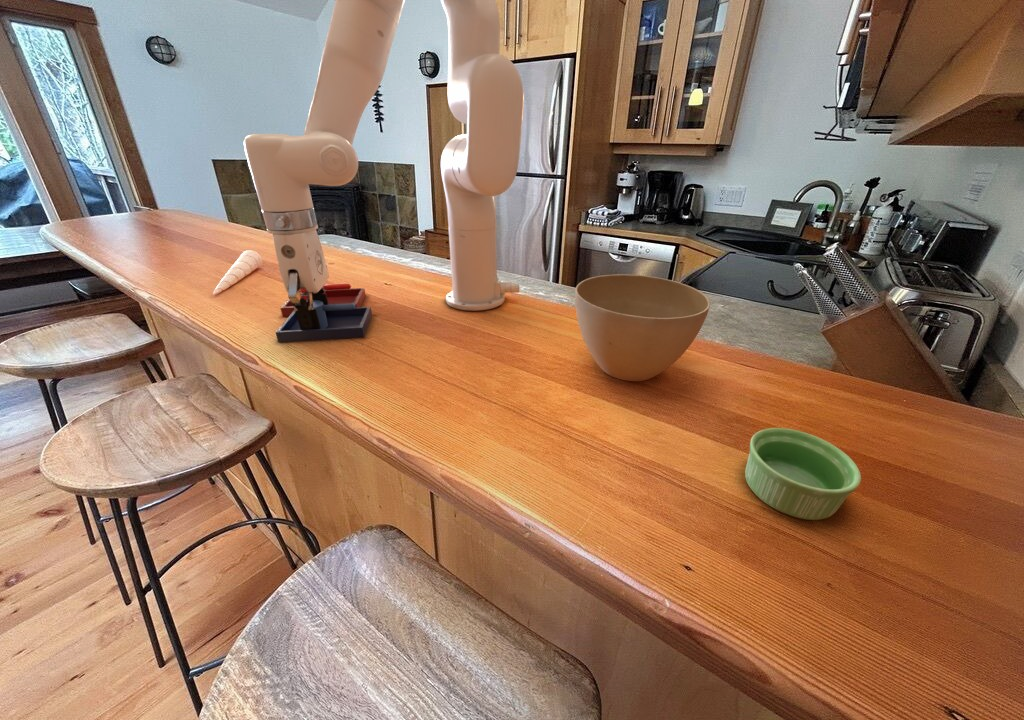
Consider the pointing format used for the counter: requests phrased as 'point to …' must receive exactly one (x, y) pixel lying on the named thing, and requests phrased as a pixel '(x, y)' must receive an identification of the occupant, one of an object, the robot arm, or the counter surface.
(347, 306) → the blue scoop
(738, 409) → the counter surface
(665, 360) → the tan bowl
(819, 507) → the ramekin
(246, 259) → the unicorn horn
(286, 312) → the red tray
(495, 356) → the counter surface
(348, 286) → the red scoop
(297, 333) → the blue tray
